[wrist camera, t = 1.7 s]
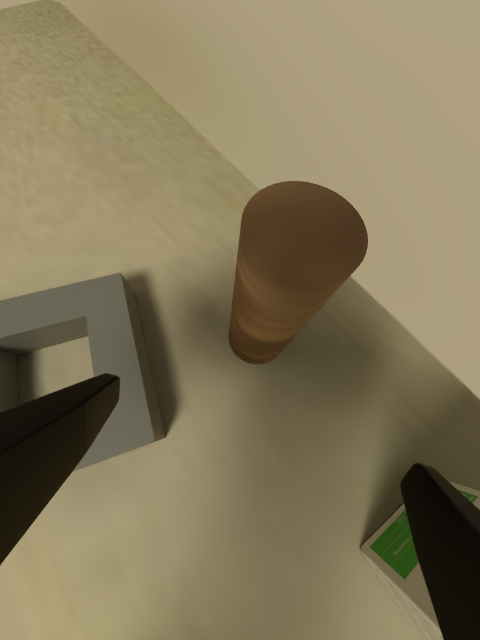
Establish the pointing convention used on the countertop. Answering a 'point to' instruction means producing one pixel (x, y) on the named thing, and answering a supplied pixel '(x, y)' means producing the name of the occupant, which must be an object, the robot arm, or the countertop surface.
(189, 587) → the countertop surface
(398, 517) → the skincare box
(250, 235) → the walnut peg
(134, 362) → the socket block
